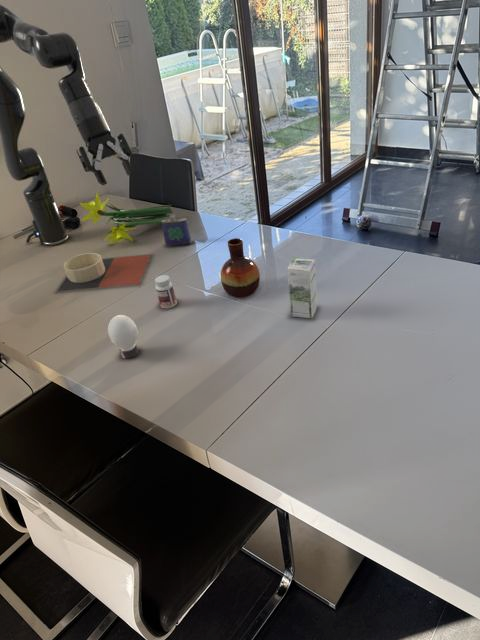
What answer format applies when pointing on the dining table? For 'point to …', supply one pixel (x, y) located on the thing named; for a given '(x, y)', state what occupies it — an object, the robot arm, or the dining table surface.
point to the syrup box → (302, 288)
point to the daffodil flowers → (128, 223)
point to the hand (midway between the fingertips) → (117, 179)
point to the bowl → (84, 267)
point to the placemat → (114, 273)
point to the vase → (239, 272)
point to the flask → (176, 232)
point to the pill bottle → (165, 292)
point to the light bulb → (124, 335)
